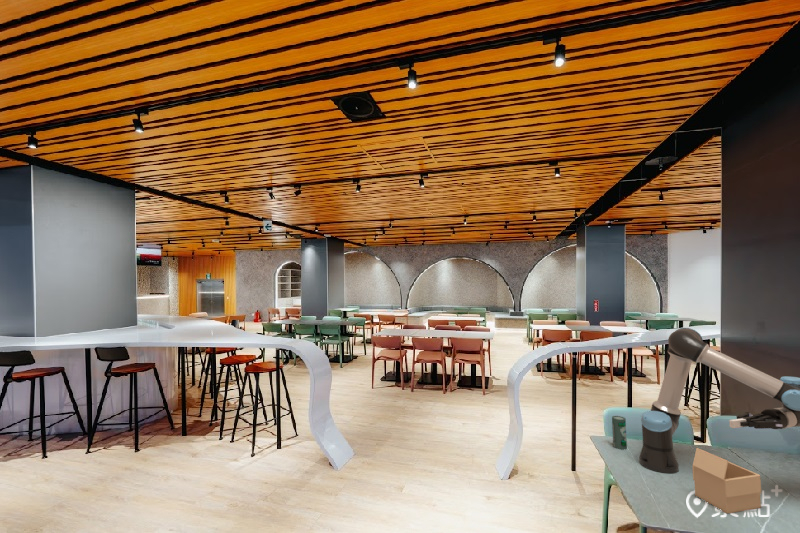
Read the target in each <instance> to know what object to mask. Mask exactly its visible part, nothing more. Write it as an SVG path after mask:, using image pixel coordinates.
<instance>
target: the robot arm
mask: <svg viewBox="0 0 800 533" xmlns="http://www.w3.org/2000/svg"><path fill="white" fill-rule="evenodd" d="M667 341H668V342H667V343H668V349H667V353H668V354H669V359H668V362H667V366H666V370H665V372H664V373H665V374H664V377H663V379H662V384H661V387H660V390H659V394H658V397H657V400H655V401H653V402H652V405H651V408H650V410H649V411H648V410H647V411H644V412H643V413H642V415H641V419H640V421H641V431H642V432H641V434H642V448H641V451H640V454H639V458H638V459H639V464H640V465H641V466H643V467H645V468H646V469H648V470H651V471H654V472H658V473H663V474H674V473H677V472H679V470H680V468H679V465H680V464H679V462H678V460H677V457H676V455H675V452H674V444H673V443H674V442H673V435H674V433H675V432H676V431H677V430H678V428H679V425H680V423H679V422H680V421H679V420H680V418H681V414H682V412H681V410H680V409H679V407H680V404H681V400H682V397H683V393H684V390H685V387H686V383H687V379H688V376H689V374H690V369H691V366H692V363H693V362H694V363H701V364H703V365H705V366H707V367H709V368H711V369H713V370H715V371H718V372H720V373H722V374H723V375H726V376H728V377H730V378H732V379H734V380H736V381H738V382H740V383H742V384H744V385H746V386H748V387H750V388H752V389H754V390H756V391H758V392H760V393H762V394H765V395H767V397H768V396H769V397H770V398H773V399H774V400H776V401H778V402H780V403H781V404H782V405H781V407H774V408H768V409H766V408H765V409H764V410H762V411H761V412H760V413H755V414H751V413H750V412H748V411H746V412H745V413H742V414H739V415H736V419H729V427H730V428H732V429H739V428H746V427H748V428H754V429H772V430H784V429H785V430H786V429H788V428H795V427H796V428H797V427H800V377H797V376H785V375H784V376H781V377H780V379H778V378H776V377H773V376H772V375H769V374H767V373H765V372H763V371H761V370H759V369H757V368H755V367H752V366H750V365H748V364H745V363H744V362H741V361H739V360H738V359H735V358H733V357H731V356H729V355H727V354H725V353H723V352H720V351H718V350H716V349H714V348H712V347H710V345H709V344H708V343H706V342H705V341H703V337H702V335H701V334H700V333H699V332H698V331H697V330H695V329H693V328H690V327H681V328H678V329H675V330H674V331H673V332H671V333H670V334H669V336H668V338H667Z"/></svg>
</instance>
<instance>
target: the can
mask: <svg viewBox="0 0 800 533" xmlns="http://www.w3.org/2000/svg"><path fill="white" fill-rule="evenodd" d="M626 420H627V419H626V417H625V416H621V415H613V416H611V421H612V422H611V424H612V426H611V427H612V446H613V448H615V449H617V450H622V451H624V449H625V450H627V449H628V443H627V441H628V439H627V422H626Z"/></svg>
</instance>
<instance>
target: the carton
mask: <svg viewBox="0 0 800 533" xmlns="http://www.w3.org/2000/svg"><path fill="white" fill-rule="evenodd" d="M691 465H692V479H693V481H694V495H695V496H694V497H696V496H697V497H696V498H698V497H699V498H698V499H700V498H701V499H703V500H705V501H706V502H705V501H704V502H705V503H707V502H708V503H707V504H709V505H710V504H712V505H713V506H712V505H711V506H712V507H714V506H715V508H716V507H717V508H716V509H718V508H719V509H721V510H722V511H721V510H720V511H721V512H723V513H725V514H733V513H739V512H744V511H750V510H751V511H752V510H755V509H757V510H758V509H760V508H762V504H761V494H762V481H761V475H760V474H759V473H757V472H755V471H752V470H749V469H747V468H744V467H742V466H741V465H740V466H739V465H737V464H735V463H733V462H730V461H728V466H727V470H726V475H725V480H723V479H721V478H719V477H717V476H715V475H713V474H711V473H708V472H706V471H704V470H702V469H700V468H698V467H696V466H694V465H693V464H691ZM701 499H700V500H701ZM703 500H702V501H703ZM719 509H718V510H719Z"/></svg>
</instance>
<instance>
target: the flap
mask: <svg viewBox="0 0 800 533" xmlns="http://www.w3.org/2000/svg"><path fill="white" fill-rule="evenodd" d="M728 462H729V460H727V459H725V458H722V457H720V456H718V455H716V454H713V453H710V452H708V451H706V450H704V449H701V448H698V447H696V449H695V454H694V458H693V462H692V465H694V466H696V467H698V468H700V469H702V470H704V471H706V472H708V473H711V474H713V475H715V476H717V477H719V478H721V479H723V480H725V475H726V470H727V466H728Z"/></svg>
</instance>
